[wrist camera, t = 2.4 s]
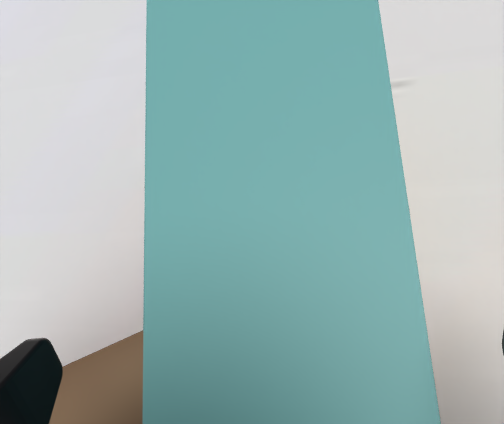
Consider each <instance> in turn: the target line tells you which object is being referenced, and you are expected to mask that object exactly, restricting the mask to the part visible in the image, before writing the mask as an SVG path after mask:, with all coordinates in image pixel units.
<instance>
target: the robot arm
mask: <svg viewBox="0 0 504 424" xmlns="http://www.w3.org/2000/svg"><path fill="white" fill-rule="evenodd" d="M502 349H503V354H504V331H503V339H502ZM62 375H63V368H62V364H61V362H60V360H59V358H58V356H57V354H56V352H55V350H54V348H53V346H52V344H51V342H50V341H49V340H48V339H46V338H36V339H28V340H26V341H24V342H23V343H21V344H20V345H19V346H17V347H16V348H15V349H13V350H12V351H10V352H9V353H8V354H6V355H5V356H4V357H2V358H1V359H0V424H49V422H50V418H51V415H52V411H53V408H54V404H55V401H56V397H57V394H58V390H59V387H60V383H61V380H62Z"/></svg>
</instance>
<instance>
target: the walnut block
mask: <svg viewBox="0 0 504 424" xmlns="http://www.w3.org/2000/svg"><path fill="white" fill-rule="evenodd" d="M62 368H63V375H62V380H61V383H60V387H59V390H58V394H57V397H56V401H55V404H54V408H53V411H52V415H51V418H50V422H49V424H142V423H143V331H141V332H138V333H136V334H134V335H132V336H130V337H127V338H125V339H123V340H121V341H119V342H116V343H114V344H112V345H110V346H108V347H105V348H103V349H101V350H99V351H97V352H94V353H92V354H90V355H88V356H86V357H83V358H81V359H79V360H77V361H75V362H72V363H70V364H68V365H66V366H64V367H62Z"/></svg>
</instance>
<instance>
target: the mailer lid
mask: <svg viewBox="0 0 504 424" xmlns="http://www.w3.org/2000/svg"><path fill="white" fill-rule="evenodd" d="M142 424H441V422H440V416H439V409H438V402H437V395H436V389H435V382H434V375H433V368H432V362H431V355H430V348H429V341H428V334H427V328H426V321H425V314H424V307H423V301H422V294H421V287H420V280H419V274H418V267H417V260H416V253H415V247H414V240H413V233H412V226H411V220H410V213H409V206H408V199H407V193H406V186H405V179H404V172H403V166H402V159H401V152H400V145H399V139H398V132H397V125H396V118H395V112H394V105H393V98H392V91H391V85H390V78H389V71H388V64H387V58H386V51H385V44H384V37H383V31H382V24H381V17H380V10H379V4H378V0H147V26H146V125H145V225H144V324H143V423H142Z"/></svg>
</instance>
